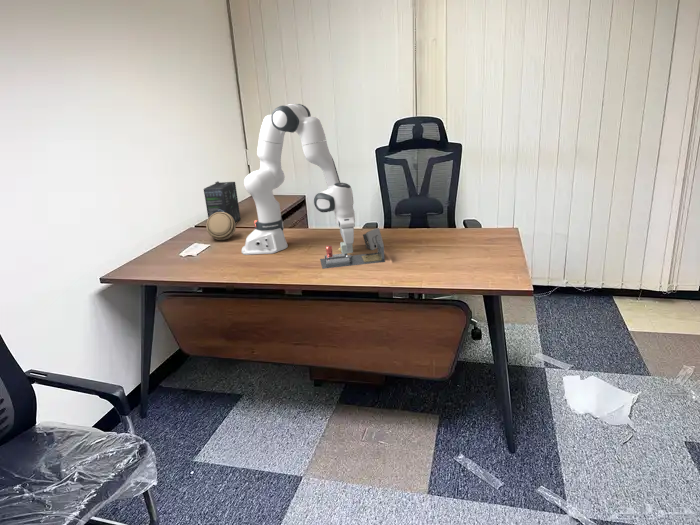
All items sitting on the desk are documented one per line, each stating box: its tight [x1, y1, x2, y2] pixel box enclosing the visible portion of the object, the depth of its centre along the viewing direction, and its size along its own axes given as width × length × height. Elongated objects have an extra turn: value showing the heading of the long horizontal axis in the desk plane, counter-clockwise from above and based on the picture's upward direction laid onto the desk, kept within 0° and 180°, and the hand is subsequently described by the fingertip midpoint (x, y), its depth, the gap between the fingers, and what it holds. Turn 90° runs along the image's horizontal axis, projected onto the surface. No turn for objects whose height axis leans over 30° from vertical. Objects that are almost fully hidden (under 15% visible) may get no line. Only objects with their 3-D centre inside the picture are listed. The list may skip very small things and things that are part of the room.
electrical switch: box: [362, 227, 384, 251], centre depth 225 cm, size 9×5×9 cm, turn 141°
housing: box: [338, 241, 354, 254], centre depth 221 cm, size 6×5×5 cm
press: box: [319, 241, 386, 270], centre depth 209 cm, size 27×13×7 cm, turn 98°
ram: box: [325, 245, 352, 260], centre depth 208 cm, size 11×3×7 cm, turn 98°
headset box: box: [203, 181, 241, 224], centre depth 285 cm, size 22×12×26 cm, turn 174°
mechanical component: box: [205, 212, 237, 241], centre depth 256 cm, size 15×15×15 cm
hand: (347, 248), depth 221 cm, fingers open, 8 cm apart
